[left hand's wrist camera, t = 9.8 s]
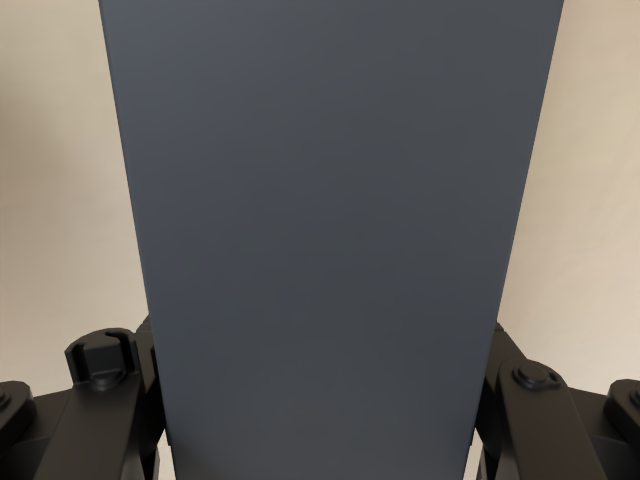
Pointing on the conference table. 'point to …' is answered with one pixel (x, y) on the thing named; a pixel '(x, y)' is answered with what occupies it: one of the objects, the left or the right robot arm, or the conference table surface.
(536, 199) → the conference table surface
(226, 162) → the post
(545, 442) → the left robot arm
